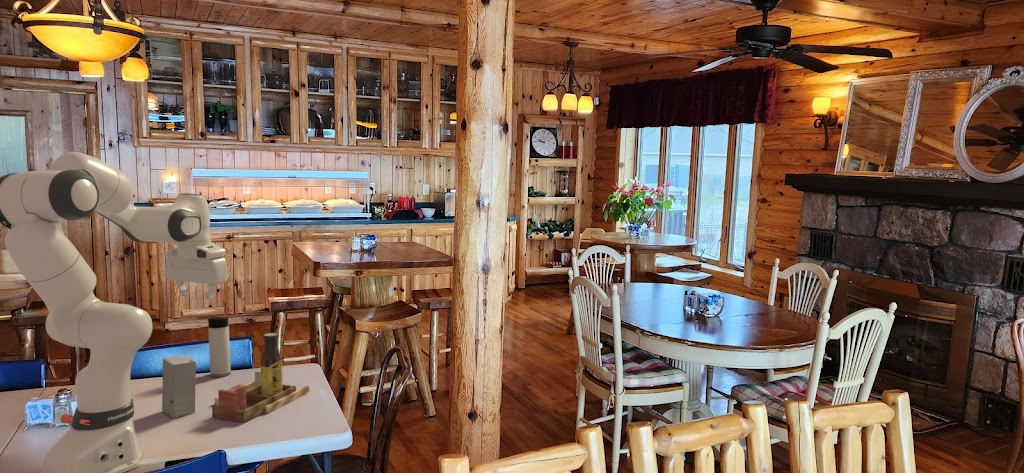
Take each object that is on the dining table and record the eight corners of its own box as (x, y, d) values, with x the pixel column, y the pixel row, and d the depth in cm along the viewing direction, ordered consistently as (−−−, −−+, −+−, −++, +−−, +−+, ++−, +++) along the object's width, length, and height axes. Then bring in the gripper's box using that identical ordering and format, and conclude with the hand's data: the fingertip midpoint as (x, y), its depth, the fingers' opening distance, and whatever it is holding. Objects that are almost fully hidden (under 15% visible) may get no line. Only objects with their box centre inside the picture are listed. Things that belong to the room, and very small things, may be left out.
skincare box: (161, 411, 192) (158, 358, 190) (187, 404, 197) (184, 352, 195) (172, 419, 186) (170, 364, 184) (199, 412, 191) (196, 359, 190)
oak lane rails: (267, 413, 191) (267, 407, 191) (214, 404, 197) (214, 398, 197) (309, 392, 209) (309, 385, 208) (259, 384, 215) (259, 378, 215)
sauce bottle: (276, 402, 199) (274, 338, 197) (257, 401, 200) (254, 336, 198) (287, 395, 206) (285, 332, 204) (268, 393, 207) (266, 331, 205)
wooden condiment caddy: (243, 422, 184) (242, 394, 183) (212, 416, 187) (211, 389, 187) (295, 395, 205) (295, 370, 204) (266, 391, 208) (266, 366, 207)
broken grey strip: (232, 405, 197) (231, 385, 196) (222, 403, 198) (221, 383, 198) (272, 386, 213) (271, 368, 213) (262, 384, 215) (262, 366, 214)
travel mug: (205, 377, 222) (203, 318, 219) (217, 370, 228) (215, 313, 226) (223, 378, 221) (220, 319, 218) (234, 371, 227) (232, 314, 225)
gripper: (158, 249, 192) (160, 296, 193) (213, 253, 184) (215, 302, 186) (176, 246, 197) (178, 292, 199) (230, 250, 190) (232, 297, 192)
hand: (197, 297), depth 193 cm, fingers open, 8 cm apart
